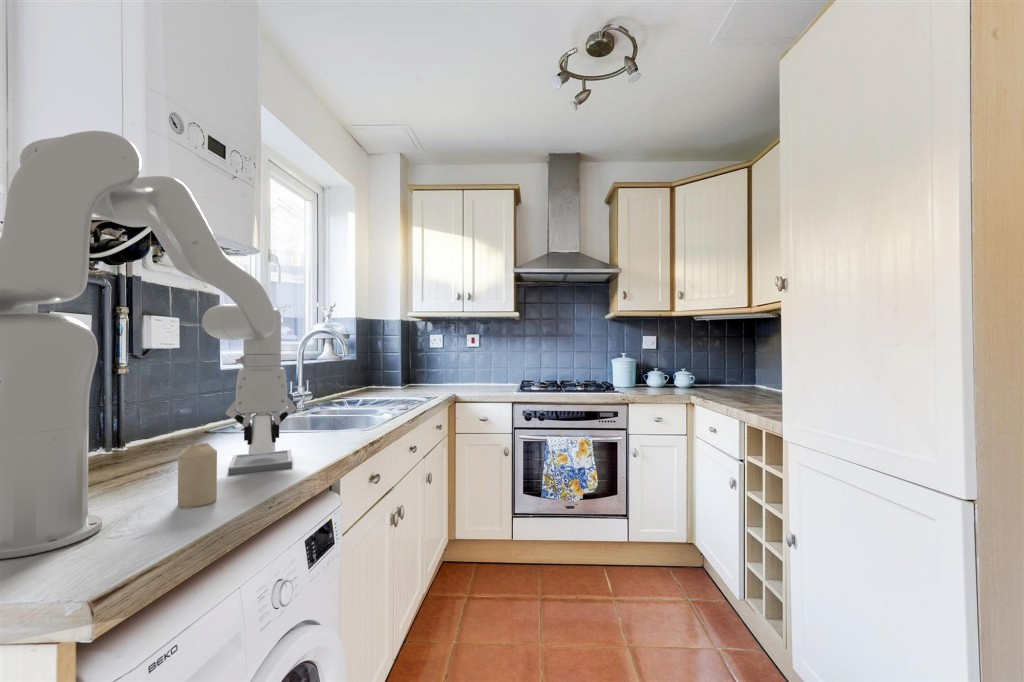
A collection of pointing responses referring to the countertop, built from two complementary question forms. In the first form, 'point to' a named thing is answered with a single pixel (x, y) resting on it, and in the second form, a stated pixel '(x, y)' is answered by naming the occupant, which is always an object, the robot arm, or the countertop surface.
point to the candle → (197, 476)
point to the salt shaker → (261, 434)
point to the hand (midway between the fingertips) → (262, 441)
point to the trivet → (260, 462)
